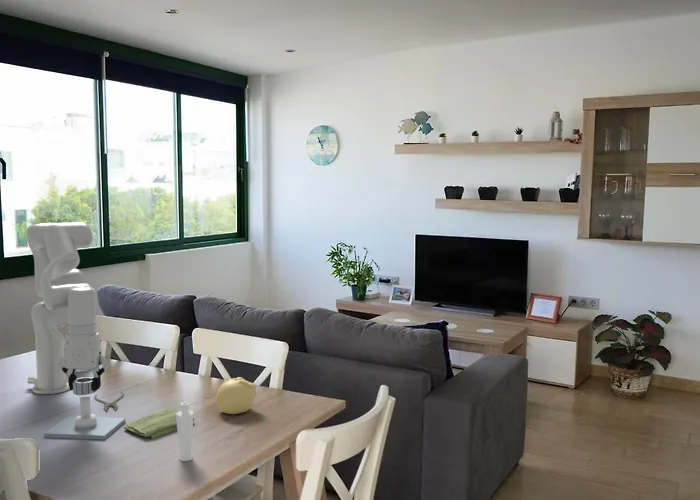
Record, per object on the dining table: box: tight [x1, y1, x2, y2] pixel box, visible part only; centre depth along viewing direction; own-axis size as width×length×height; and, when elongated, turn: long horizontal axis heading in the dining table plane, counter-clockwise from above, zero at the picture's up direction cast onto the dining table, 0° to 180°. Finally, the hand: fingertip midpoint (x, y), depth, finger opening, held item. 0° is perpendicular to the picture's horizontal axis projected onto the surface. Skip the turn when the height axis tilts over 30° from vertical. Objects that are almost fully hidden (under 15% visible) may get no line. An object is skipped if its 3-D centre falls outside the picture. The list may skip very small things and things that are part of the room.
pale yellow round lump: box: [216, 376, 257, 415], centre depth 210 cm, size 12×12×11 cm
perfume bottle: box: [176, 401, 194, 462], centre depth 174 cm, size 5×4×15 cm
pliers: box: [93, 391, 125, 413], centre depth 219 cm, size 10×1×20 cm
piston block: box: [43, 395, 126, 441], centre depth 194 cm, size 18×14×10 cm
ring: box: [72, 376, 98, 396], centre depth 193 cm, size 6×6×4 cm
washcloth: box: [123, 407, 195, 440], centre depth 197 cm, size 13×18×3 cm
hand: (84, 388), depth 193 cm, fingers closed on ring, 6 cm apart
